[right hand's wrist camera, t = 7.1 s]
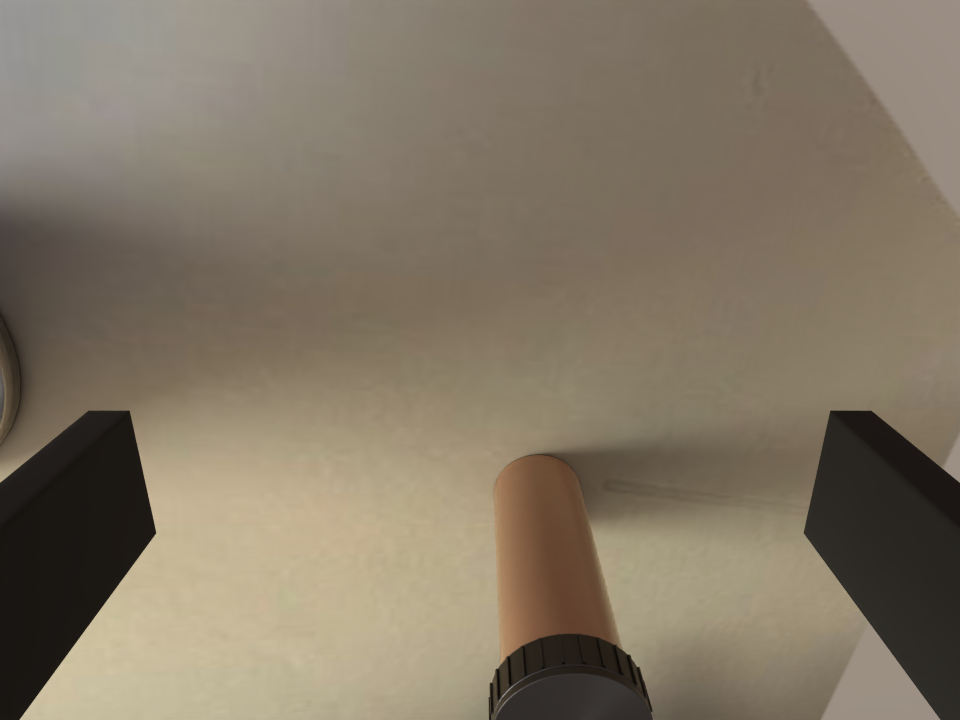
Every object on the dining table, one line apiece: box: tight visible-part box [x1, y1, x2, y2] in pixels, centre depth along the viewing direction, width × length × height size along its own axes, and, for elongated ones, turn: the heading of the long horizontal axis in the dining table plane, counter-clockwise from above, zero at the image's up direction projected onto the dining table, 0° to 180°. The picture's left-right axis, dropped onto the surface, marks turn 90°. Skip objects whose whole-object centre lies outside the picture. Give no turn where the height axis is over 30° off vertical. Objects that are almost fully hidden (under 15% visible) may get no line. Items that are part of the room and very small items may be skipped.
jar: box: [494, 455, 623, 665], centre depth 31 cm, size 5×5×15 cm
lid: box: [489, 634, 653, 720], centre depth 25 cm, size 6×6×2 cm
